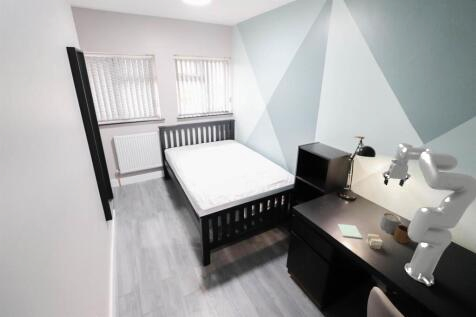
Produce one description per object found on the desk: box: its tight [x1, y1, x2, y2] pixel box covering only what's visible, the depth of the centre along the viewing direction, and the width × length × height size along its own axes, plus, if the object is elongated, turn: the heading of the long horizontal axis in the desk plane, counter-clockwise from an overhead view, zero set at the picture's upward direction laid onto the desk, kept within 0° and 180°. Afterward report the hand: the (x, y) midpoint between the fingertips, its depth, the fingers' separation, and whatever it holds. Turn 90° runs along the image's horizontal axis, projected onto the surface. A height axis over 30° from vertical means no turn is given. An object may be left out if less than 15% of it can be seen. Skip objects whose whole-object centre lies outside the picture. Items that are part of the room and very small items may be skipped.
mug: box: [393, 224, 414, 245], centre depth 140 cm, size 12×8×9 cm, turn 18°
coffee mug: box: [379, 212, 406, 234], centre depth 152 cm, size 13×10×10 cm
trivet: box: [337, 223, 363, 239], centre depth 151 cm, size 12×12×1 cm
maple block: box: [365, 233, 383, 250], centre depth 138 cm, size 6×6×6 cm
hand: (393, 184), depth 150 cm, fingers open, 9 cm apart
